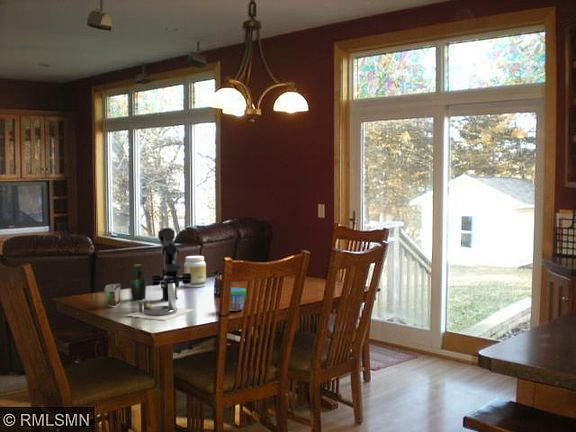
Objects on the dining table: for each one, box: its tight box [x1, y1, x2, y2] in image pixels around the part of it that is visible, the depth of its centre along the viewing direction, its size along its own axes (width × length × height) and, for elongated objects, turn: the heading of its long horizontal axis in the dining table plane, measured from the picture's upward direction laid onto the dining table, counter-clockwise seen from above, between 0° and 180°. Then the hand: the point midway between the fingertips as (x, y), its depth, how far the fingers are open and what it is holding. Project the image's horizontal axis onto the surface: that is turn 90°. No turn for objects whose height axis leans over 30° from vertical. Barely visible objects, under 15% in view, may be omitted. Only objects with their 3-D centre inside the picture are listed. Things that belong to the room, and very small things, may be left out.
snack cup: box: [230, 287, 247, 310], centre depth 303 cm, size 16×10×10 cm
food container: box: [104, 283, 122, 306], centre depth 318 cm, size 12×6×10 cm, turn 1°
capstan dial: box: [143, 283, 178, 315], centre depth 299 cm, size 15×15×13 cm
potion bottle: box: [129, 263, 147, 301], centre depth 333 cm, size 8×8×18 cm
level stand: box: [125, 299, 195, 322], centre depth 299 cm, size 22×22×5 cm
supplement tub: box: [183, 255, 207, 289], centre depth 370 cm, size 12×12×17 cm
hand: (172, 293), depth 305 cm, fingers closed
